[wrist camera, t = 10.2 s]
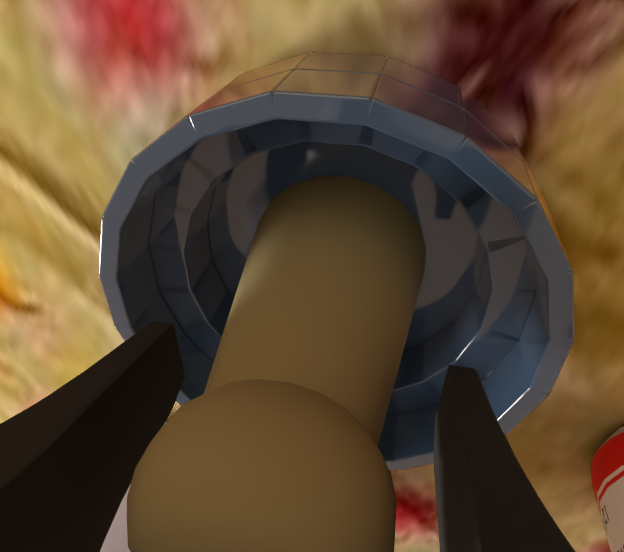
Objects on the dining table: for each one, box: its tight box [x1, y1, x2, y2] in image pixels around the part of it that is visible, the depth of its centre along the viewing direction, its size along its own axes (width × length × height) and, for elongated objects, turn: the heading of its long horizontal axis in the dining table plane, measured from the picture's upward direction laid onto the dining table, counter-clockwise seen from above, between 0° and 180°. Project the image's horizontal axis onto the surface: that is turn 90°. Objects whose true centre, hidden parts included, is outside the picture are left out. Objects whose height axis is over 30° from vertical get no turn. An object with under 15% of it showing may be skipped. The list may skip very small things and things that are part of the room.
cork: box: [127, 176, 426, 552], centre depth 12 cm, size 6×6×11 cm
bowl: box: [99, 52, 575, 471], centre depth 15 cm, size 13×13×4 cm
